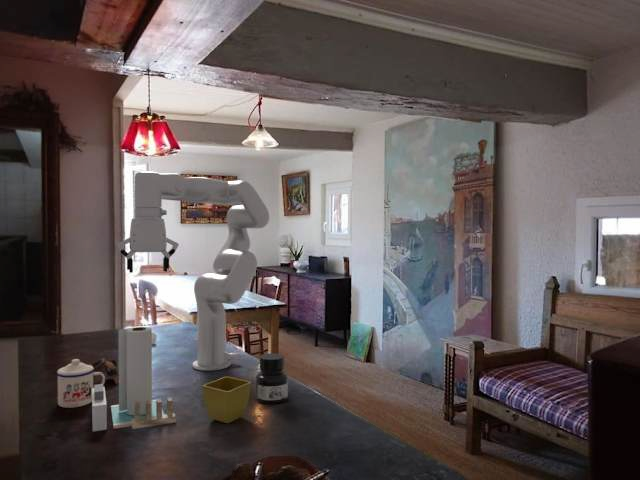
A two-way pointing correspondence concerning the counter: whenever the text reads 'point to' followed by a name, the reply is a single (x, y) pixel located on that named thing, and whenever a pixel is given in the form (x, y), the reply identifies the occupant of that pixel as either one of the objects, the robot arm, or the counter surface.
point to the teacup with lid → (76, 384)
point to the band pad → (127, 416)
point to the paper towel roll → (135, 368)
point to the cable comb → (153, 420)
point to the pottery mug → (106, 368)
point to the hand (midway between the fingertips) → (148, 271)
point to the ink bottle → (271, 379)
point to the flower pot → (226, 398)
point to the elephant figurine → (154, 337)
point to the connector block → (99, 408)
